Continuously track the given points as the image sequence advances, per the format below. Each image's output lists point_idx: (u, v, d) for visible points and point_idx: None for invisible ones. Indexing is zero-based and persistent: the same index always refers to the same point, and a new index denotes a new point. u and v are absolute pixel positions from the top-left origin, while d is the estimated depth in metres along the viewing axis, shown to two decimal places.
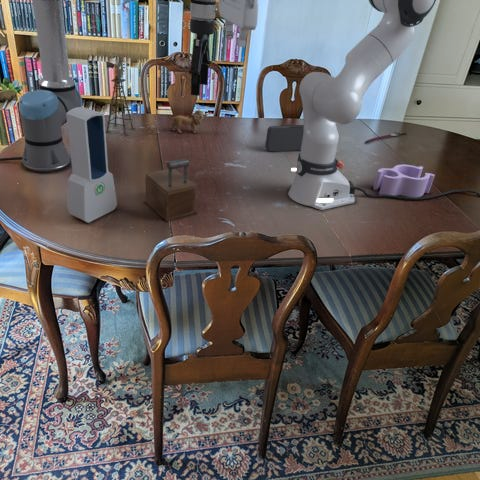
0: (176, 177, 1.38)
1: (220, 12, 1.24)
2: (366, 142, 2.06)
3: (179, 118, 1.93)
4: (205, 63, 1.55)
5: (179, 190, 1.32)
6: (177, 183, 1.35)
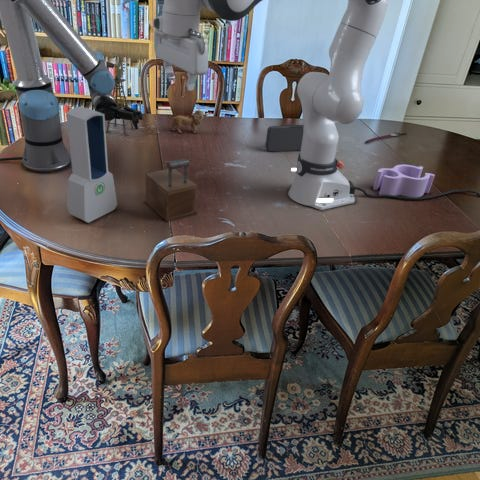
0: (176, 177, 1.38)
1: (157, 53, 1.20)
2: (366, 142, 2.06)
3: (179, 118, 1.93)
4: None
5: (179, 190, 1.32)
6: (177, 183, 1.35)
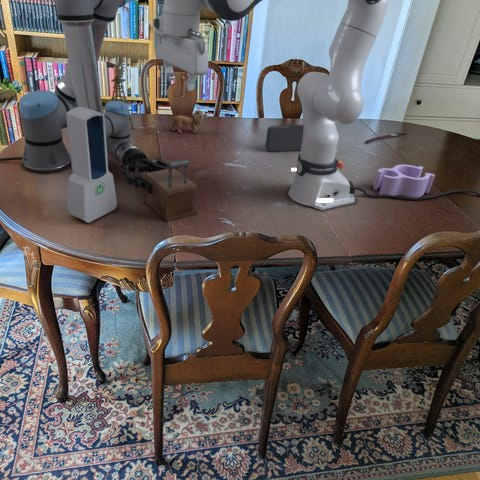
0: (176, 177, 1.38)
1: (157, 53, 1.20)
2: (366, 142, 2.06)
3: (179, 118, 1.93)
4: None
5: (179, 190, 1.32)
6: (177, 183, 1.35)
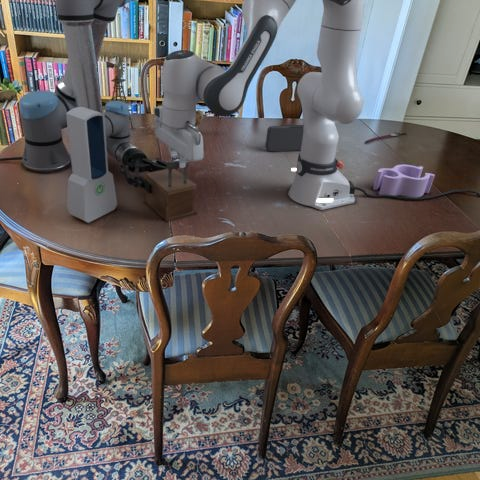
0: (176, 177, 1.38)
1: (157, 135, 1.32)
2: (366, 142, 2.06)
3: None
4: None
5: (179, 190, 1.32)
6: (177, 183, 1.35)
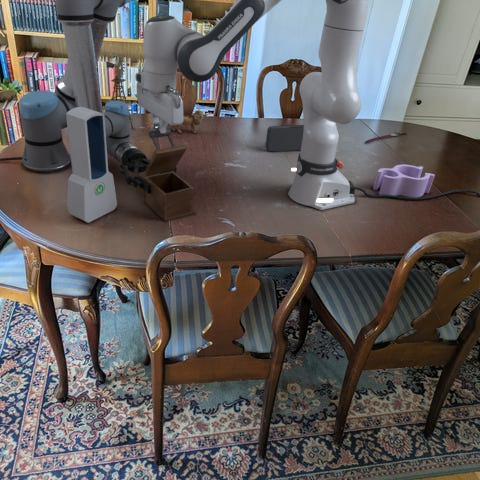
0: None
1: (139, 102, 1.35)
2: (366, 142, 2.06)
3: None
4: None
5: (168, 149, 1.30)
6: None
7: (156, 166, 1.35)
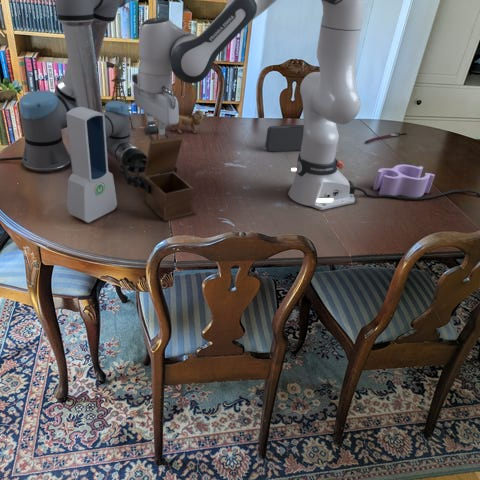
0: None
1: (136, 103, 1.37)
2: (366, 142, 2.06)
3: (179, 118, 1.93)
4: None
5: (163, 140, 1.31)
6: None
7: (154, 161, 1.35)
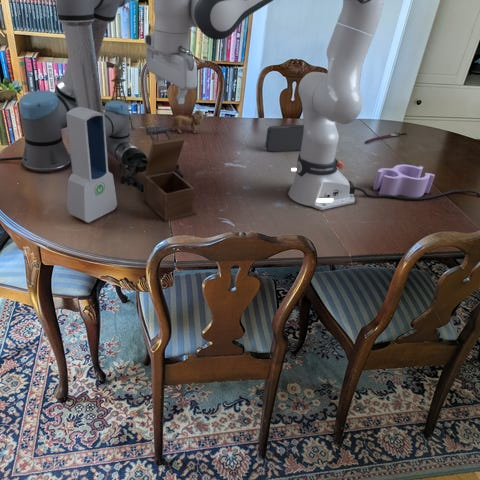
0: None
1: (149, 68, 1.25)
2: (366, 142, 2.06)
3: (179, 118, 1.93)
4: None
5: (165, 140, 1.31)
6: None
7: (155, 162, 1.35)
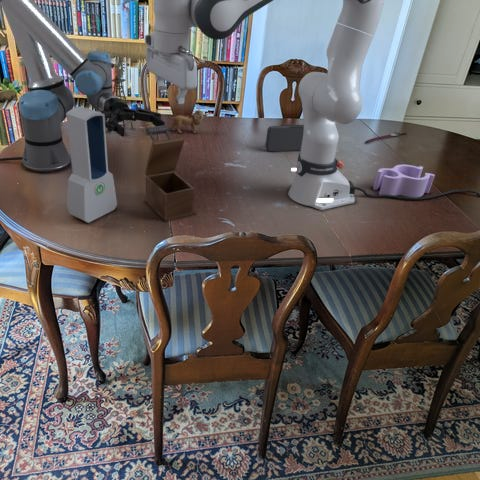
0: None
1: (149, 68, 1.25)
2: (366, 142, 2.06)
3: (179, 118, 1.93)
4: None
5: (165, 140, 1.31)
6: None
7: (155, 162, 1.35)
